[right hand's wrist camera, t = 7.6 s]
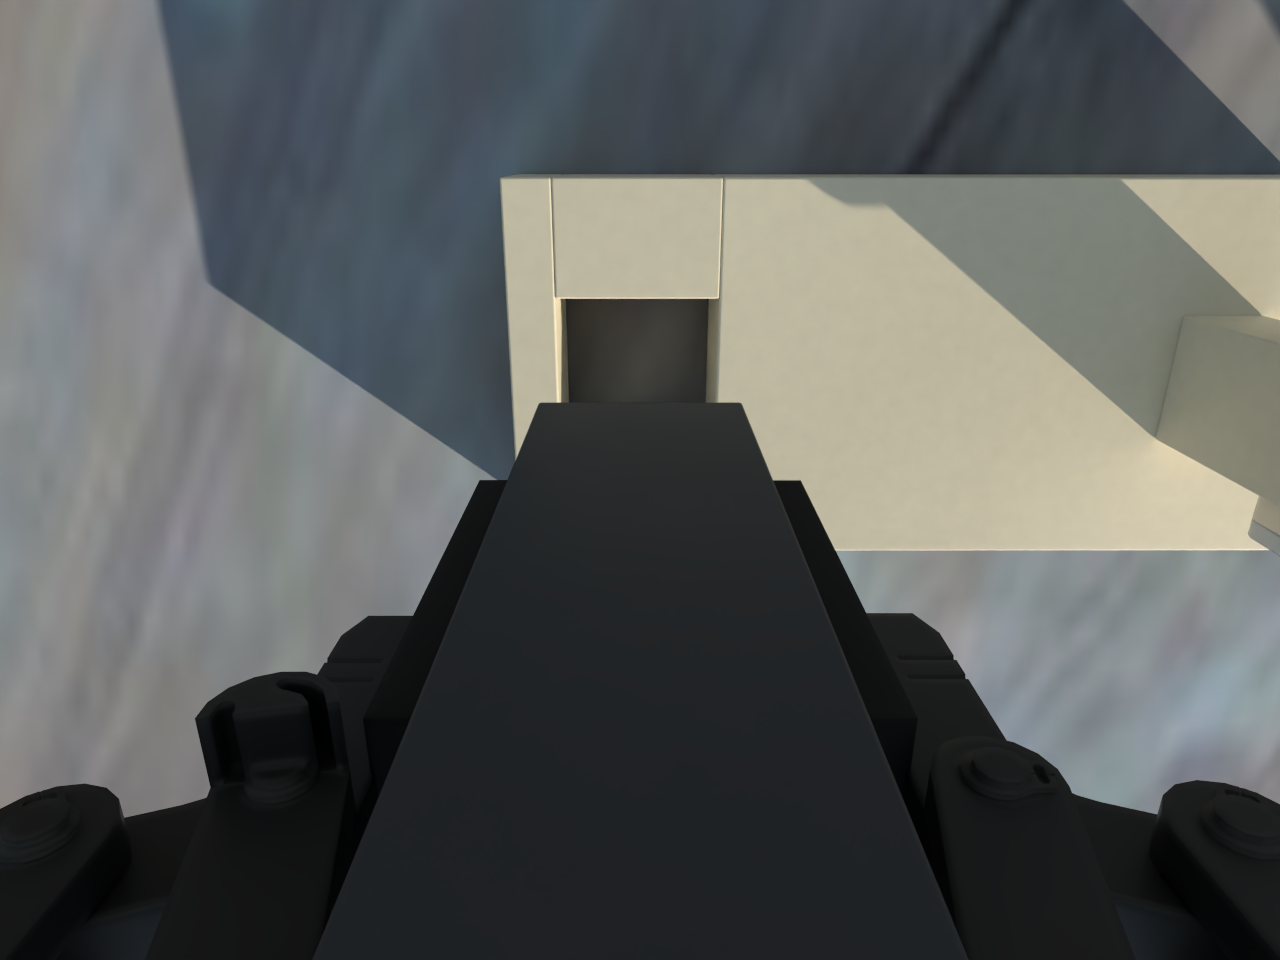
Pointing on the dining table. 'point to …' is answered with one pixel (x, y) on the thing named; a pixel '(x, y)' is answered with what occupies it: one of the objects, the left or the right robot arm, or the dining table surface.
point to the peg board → (948, 340)
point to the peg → (640, 730)
